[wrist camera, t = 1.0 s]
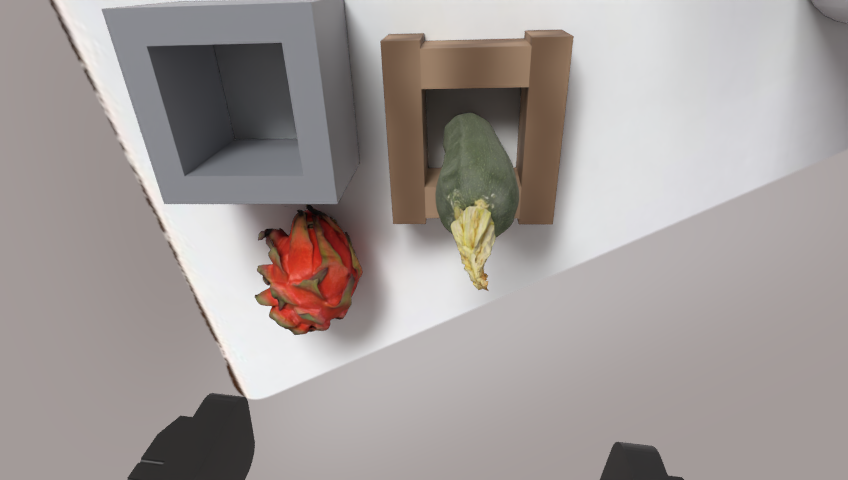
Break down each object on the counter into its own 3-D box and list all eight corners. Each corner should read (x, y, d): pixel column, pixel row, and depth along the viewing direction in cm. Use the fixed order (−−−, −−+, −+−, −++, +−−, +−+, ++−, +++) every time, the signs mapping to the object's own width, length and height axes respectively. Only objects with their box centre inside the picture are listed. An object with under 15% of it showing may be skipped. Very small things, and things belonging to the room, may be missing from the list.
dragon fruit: (315, 299, 48) (324, 182, 44) (376, 337, 43) (393, 211, 39) (237, 327, 41) (238, 194, 37) (299, 375, 37) (309, 229, 32)
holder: (343, -4, 33) (311, 2, 26) (359, 162, 39) (337, 203, 32) (175, 1, 34) (101, 8, 27) (216, 163, 40) (164, 204, 33)
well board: (561, 29, 33) (573, 36, 30) (544, 202, 39) (552, 224, 36) (388, 34, 34) (380, 41, 30) (399, 202, 40) (393, 223, 37)
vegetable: (449, 90, 36) (436, 202, 18) (506, 99, 36) (550, 220, 18) (439, 147, 38) (420, 297, 20) (494, 156, 38) (521, 313, 20)
